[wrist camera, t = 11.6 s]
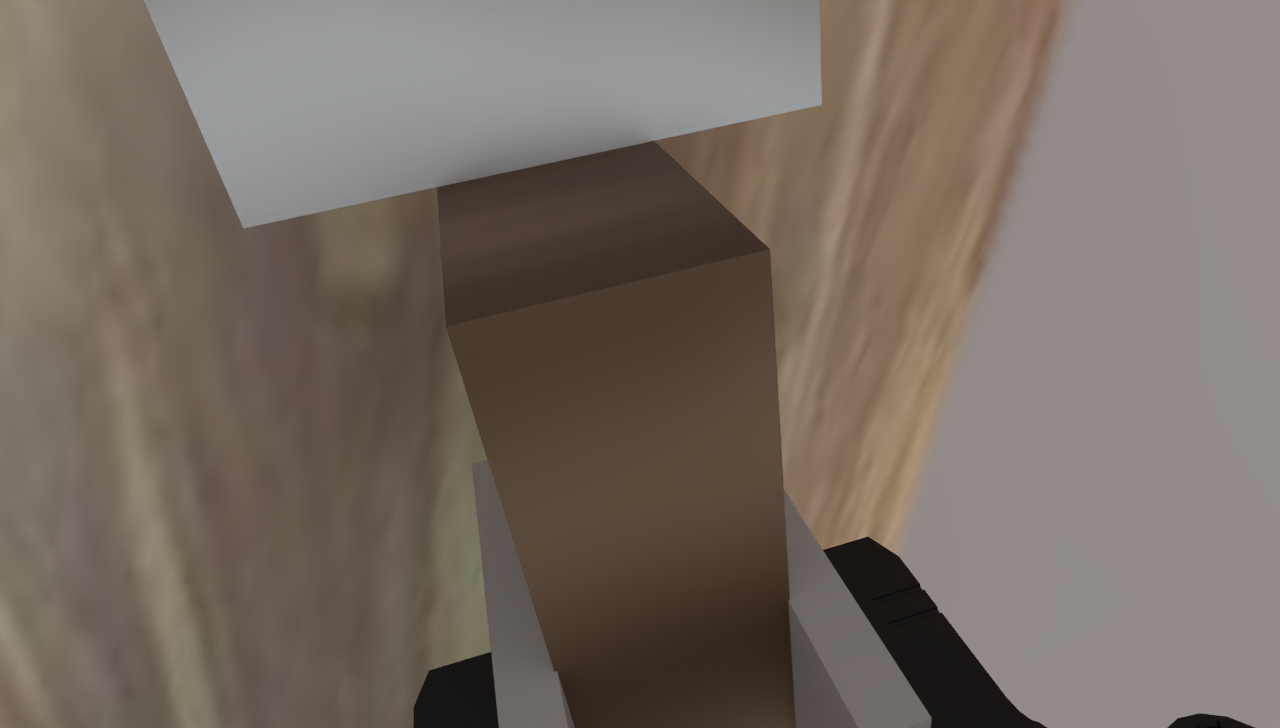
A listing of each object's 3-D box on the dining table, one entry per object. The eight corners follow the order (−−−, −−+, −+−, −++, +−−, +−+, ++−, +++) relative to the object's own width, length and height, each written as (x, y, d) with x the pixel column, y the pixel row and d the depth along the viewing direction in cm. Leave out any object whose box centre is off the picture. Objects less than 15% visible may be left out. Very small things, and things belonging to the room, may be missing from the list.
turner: (816, 623, 18) (937, 839, 14) (475, 729, 17) (493, 998, 13) (775, -596, 8) (1170, -1168, 4) (-58, -528, 7) (-794, -1222, 3)
